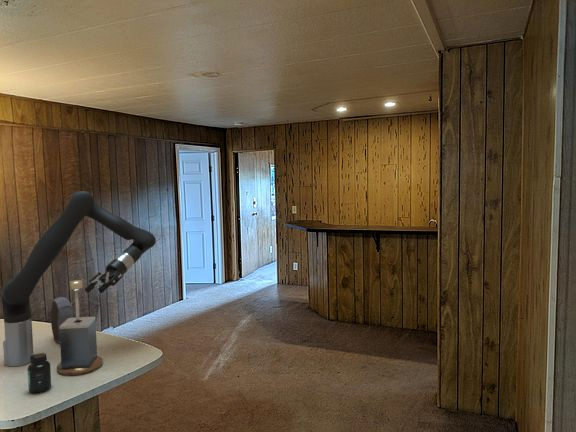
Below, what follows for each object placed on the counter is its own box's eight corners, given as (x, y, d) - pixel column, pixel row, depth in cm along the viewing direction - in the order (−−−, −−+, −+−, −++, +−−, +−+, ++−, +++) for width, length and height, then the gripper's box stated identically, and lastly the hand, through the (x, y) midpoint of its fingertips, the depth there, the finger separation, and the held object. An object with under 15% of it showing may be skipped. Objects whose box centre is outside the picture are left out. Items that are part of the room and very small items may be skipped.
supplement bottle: (26, 395, 147) (24, 360, 146) (31, 386, 154) (29, 353, 153) (48, 392, 149) (46, 358, 148) (53, 383, 156) (51, 350, 155)
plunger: (66, 343, 165) (63, 283, 163) (72, 336, 171) (69, 279, 169) (85, 341, 166) (82, 283, 164) (90, 335, 172) (88, 279, 170)
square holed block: (50, 377, 160) (47, 329, 159) (65, 359, 176) (62, 316, 174) (96, 374, 163) (94, 327, 161) (107, 357, 178) (105, 313, 177)
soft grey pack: (50, 338, 201) (48, 295, 199) (70, 333, 206) (68, 291, 204) (60, 347, 189) (57, 301, 188) (80, 342, 195) (78, 298, 193)
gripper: (104, 258, 188) (76, 284, 176) (127, 257, 180) (99, 284, 168) (114, 272, 191) (86, 298, 179) (136, 271, 184) (109, 298, 172)
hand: (92, 291), depth 174 cm, fingers open, 8 cm apart
